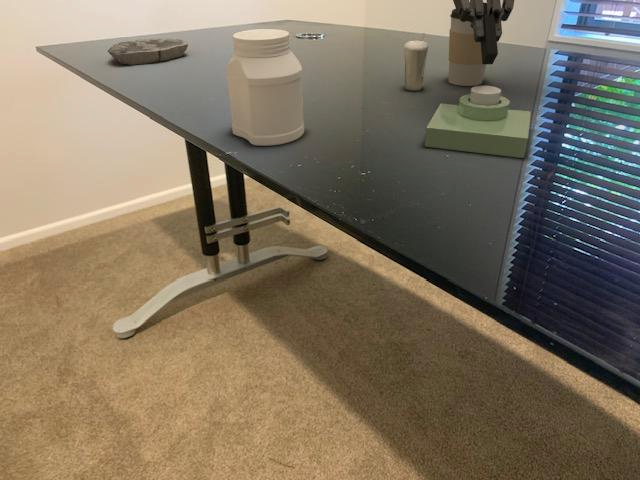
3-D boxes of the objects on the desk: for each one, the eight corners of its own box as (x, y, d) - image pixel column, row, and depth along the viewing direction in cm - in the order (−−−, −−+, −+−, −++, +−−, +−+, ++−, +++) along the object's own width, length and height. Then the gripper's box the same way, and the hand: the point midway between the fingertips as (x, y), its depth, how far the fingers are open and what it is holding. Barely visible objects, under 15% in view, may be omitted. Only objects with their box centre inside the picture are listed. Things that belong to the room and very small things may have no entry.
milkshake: (430, 86, 102) (435, 34, 96) (418, 93, 98) (423, 38, 93) (409, 83, 104) (413, 31, 99) (397, 89, 100) (401, 36, 95)
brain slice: (169, 46, 140) (167, 35, 139) (197, 56, 129) (195, 44, 127) (98, 58, 130) (95, 45, 129) (121, 70, 119) (118, 56, 117)
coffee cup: (434, 81, 105) (442, 2, 97) (459, 73, 110) (469, -3, 102) (471, 90, 99) (482, 6, 91) (496, 81, 104) (509, 1, 96)
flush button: (500, 100, 78) (502, 86, 77) (497, 108, 75) (500, 94, 74) (471, 97, 80) (473, 84, 79) (467, 105, 76) (469, 92, 75)
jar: (313, 135, 80) (311, 35, 72) (262, 150, 75) (253, 44, 67) (274, 117, 88) (267, 25, 80) (225, 130, 83) (213, 32, 75)
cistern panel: (527, 128, 81) (533, 97, 78) (524, 158, 71) (531, 124, 68) (439, 119, 85) (442, 90, 82) (424, 146, 75) (427, 113, 72)
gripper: (511, -57, 83) (525, 72, 78) (432, -54, 84) (440, 73, 79) (528, -96, 76) (544, 43, 71) (441, -93, 76) (451, 45, 71)
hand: (490, 59), depth 75 cm, fingers closed
